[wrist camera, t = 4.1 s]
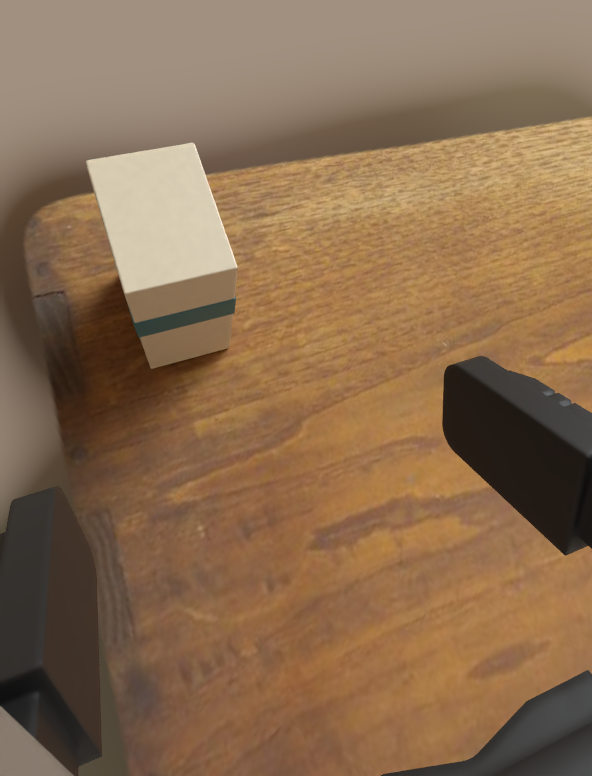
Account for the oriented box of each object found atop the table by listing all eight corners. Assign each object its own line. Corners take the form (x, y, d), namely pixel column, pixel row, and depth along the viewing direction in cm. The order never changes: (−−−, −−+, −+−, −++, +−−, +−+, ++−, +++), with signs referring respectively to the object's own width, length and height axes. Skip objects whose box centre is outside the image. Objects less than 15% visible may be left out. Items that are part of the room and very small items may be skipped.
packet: (199, 253, 30) (194, 140, 21) (231, 348, 28) (239, 268, 20) (121, 271, 29) (83, 159, 20) (150, 370, 27) (122, 295, 19)
